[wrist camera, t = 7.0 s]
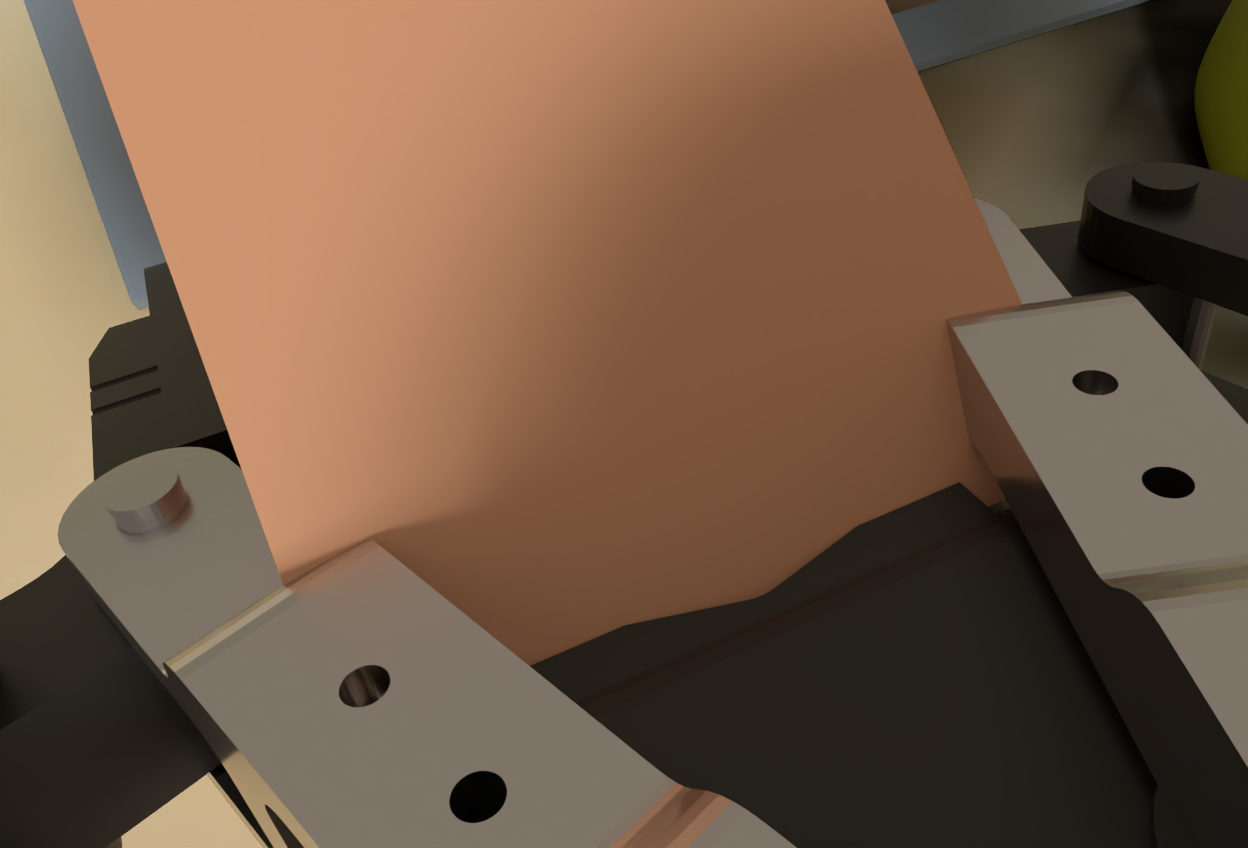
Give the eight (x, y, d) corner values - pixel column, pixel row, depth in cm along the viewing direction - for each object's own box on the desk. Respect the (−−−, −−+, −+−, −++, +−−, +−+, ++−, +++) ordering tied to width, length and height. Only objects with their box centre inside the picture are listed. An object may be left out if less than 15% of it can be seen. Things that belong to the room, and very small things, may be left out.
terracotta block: (577, 270, 17) (797, -194, 7) (694, 558, 17) (1093, 460, 7) (272, 370, 16) (60, -33, 6) (388, 686, 15) (354, 782, 6)
